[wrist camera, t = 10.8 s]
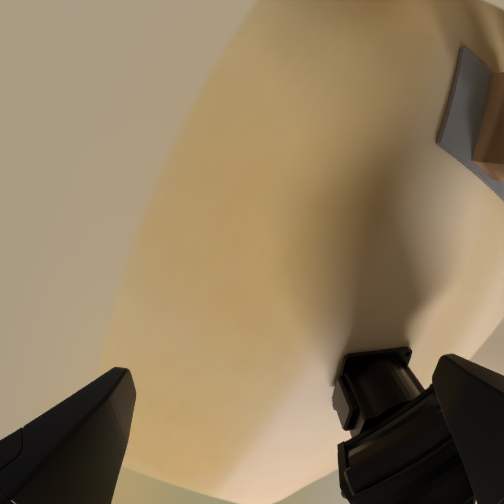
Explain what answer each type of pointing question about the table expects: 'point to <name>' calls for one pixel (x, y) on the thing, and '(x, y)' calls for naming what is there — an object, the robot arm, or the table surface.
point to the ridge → (492, 132)
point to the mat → (467, 114)
